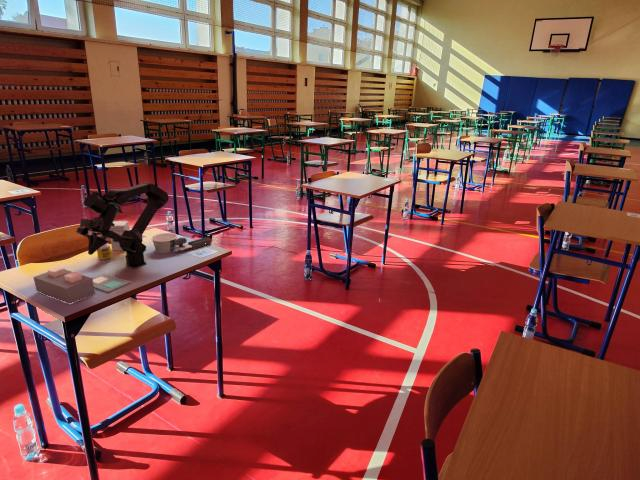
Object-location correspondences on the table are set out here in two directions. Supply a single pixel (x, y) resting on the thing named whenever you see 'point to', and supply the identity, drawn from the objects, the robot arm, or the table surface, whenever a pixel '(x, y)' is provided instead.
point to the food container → (164, 242)
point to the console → (64, 287)
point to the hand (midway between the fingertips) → (89, 254)
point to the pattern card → (108, 283)
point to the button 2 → (73, 277)
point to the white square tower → (118, 232)
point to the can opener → (191, 243)
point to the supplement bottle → (104, 253)
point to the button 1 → (56, 271)
